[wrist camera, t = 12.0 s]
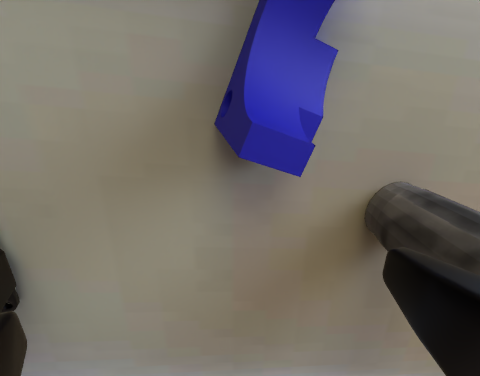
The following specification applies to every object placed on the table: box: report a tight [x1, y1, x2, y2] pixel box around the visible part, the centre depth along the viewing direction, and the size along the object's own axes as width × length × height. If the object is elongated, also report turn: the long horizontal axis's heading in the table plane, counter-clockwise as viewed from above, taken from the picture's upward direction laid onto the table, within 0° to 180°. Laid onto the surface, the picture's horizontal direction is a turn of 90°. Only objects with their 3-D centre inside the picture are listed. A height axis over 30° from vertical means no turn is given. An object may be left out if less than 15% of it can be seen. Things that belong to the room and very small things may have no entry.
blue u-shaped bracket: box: [214, 0, 338, 177], centre depth 15 cm, size 12×4×6 cm, turn 158°
